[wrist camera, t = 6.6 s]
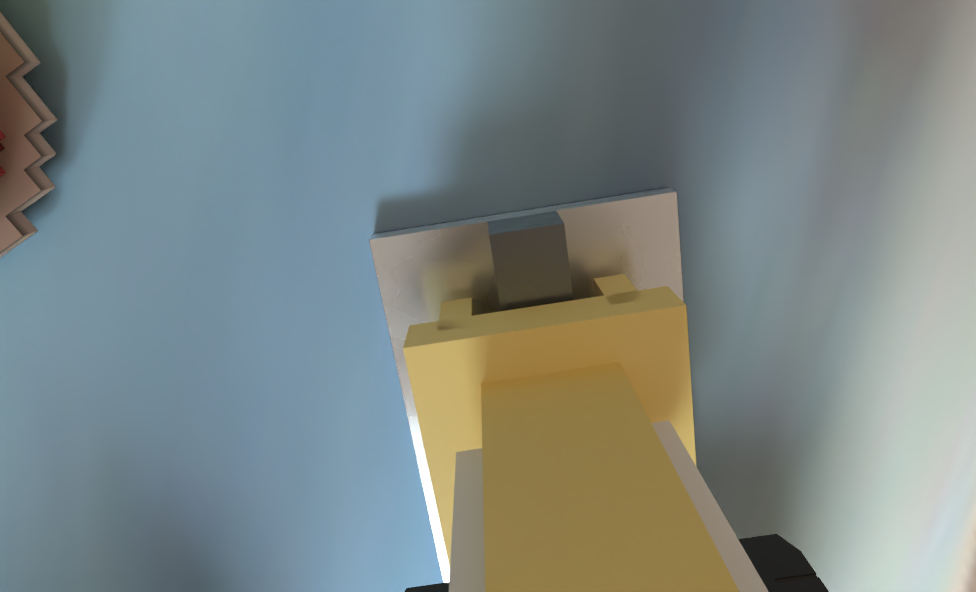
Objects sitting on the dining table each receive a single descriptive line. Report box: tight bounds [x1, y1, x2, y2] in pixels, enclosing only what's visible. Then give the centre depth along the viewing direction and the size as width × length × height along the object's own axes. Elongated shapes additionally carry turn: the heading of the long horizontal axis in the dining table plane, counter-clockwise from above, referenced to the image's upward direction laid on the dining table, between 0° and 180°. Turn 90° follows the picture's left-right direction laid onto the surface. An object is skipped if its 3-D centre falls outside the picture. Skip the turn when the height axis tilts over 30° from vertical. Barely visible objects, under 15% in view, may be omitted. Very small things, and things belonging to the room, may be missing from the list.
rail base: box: [369, 188, 684, 583], centre depth 20 cm, size 9×15×3 cm, turn 9°
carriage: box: [403, 274, 740, 592], centre depth 14 cm, size 7×7×11 cm
